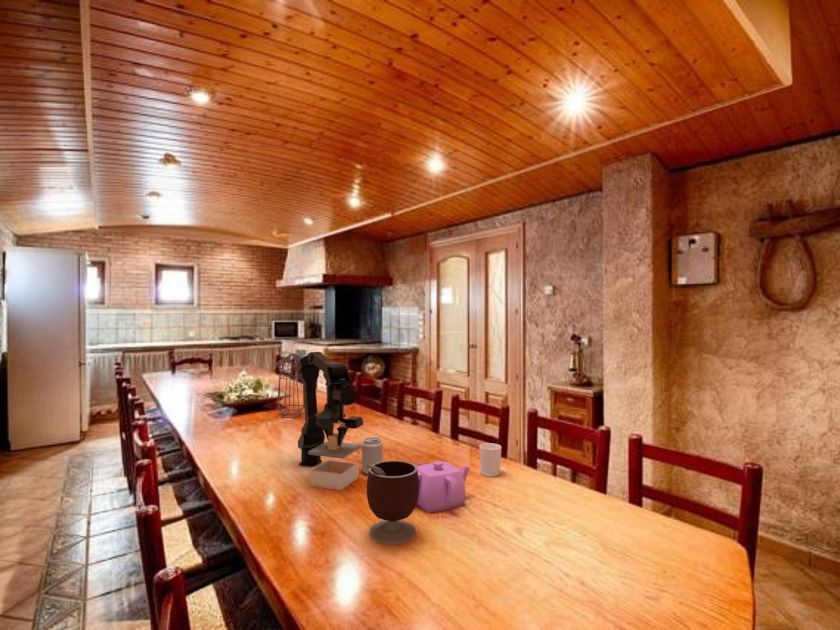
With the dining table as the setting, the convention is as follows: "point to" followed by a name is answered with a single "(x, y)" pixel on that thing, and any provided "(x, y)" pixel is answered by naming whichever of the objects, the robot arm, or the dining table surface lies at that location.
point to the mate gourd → (392, 500)
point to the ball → (335, 470)
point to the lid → (334, 448)
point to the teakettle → (441, 486)
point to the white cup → (490, 459)
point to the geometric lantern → (289, 385)
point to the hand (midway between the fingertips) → (335, 445)
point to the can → (371, 452)
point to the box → (334, 474)
